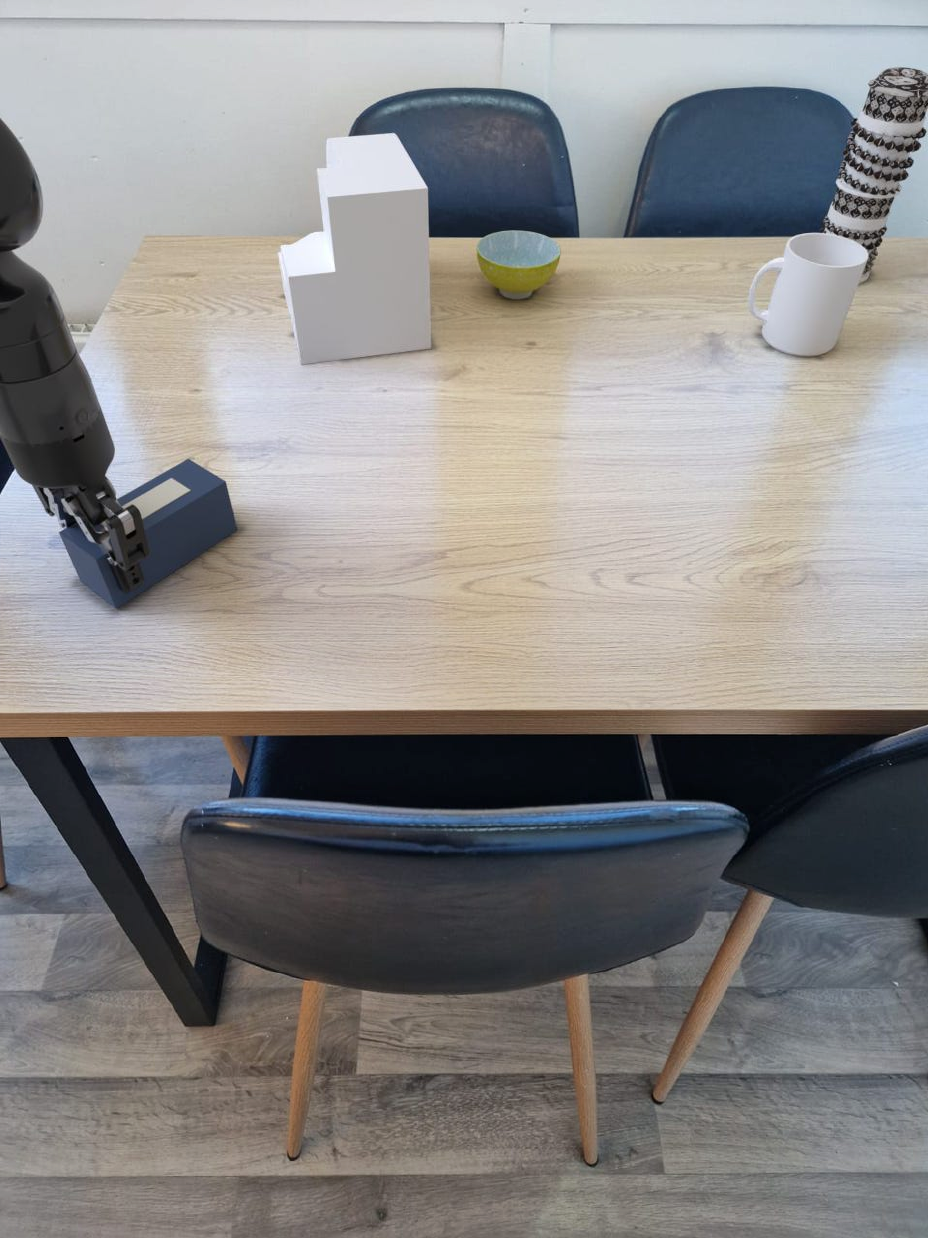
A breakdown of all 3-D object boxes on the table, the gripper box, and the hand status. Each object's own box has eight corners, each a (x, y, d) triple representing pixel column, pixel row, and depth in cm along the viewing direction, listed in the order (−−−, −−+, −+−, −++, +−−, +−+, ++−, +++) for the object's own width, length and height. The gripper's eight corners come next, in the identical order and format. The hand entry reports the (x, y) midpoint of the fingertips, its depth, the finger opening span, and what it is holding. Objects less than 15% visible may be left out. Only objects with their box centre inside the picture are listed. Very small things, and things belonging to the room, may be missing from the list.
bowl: (572, 287, 117) (577, 243, 113) (528, 320, 111) (531, 274, 106) (505, 265, 121) (507, 222, 117) (459, 295, 115) (459, 251, 111)
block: (279, 273, 119) (256, 124, 105) (392, 262, 122) (384, 114, 108) (301, 364, 103) (277, 201, 88) (431, 348, 106) (427, 187, 91)
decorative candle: (857, 292, 117) (933, 88, 99) (795, 272, 121) (857, 73, 103) (881, 269, 122) (957, 71, 104) (820, 251, 126) (884, 57, 107)
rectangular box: (116, 609, 74) (95, 559, 70) (80, 581, 77) (58, 531, 72) (237, 530, 82) (225, 480, 77) (201, 507, 84) (188, 457, 80)
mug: (845, 358, 105) (881, 266, 96) (752, 359, 105) (779, 268, 96) (820, 320, 111) (851, 232, 103) (732, 322, 111) (755, 233, 102)
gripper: (-50, 398, 64) (31, 558, 77) (57, 472, 58) (125, 633, 71) (38, 359, 68) (101, 517, 81) (146, 425, 62) (196, 585, 75)
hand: (112, 571), depth 75 cm, fingers closed on rectangular box, 5 cm apart
